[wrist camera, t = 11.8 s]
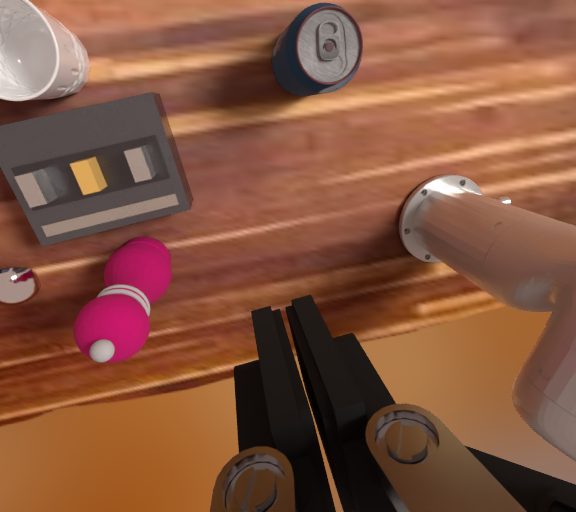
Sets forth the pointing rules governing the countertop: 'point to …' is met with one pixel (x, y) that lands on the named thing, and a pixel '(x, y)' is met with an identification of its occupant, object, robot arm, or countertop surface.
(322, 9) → the soda can
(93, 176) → the breaker paddle
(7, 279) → the silver spoon
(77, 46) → the white cup
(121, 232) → the countertop surface
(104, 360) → the pepper mill
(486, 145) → the countertop surface
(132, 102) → the breaker panel
